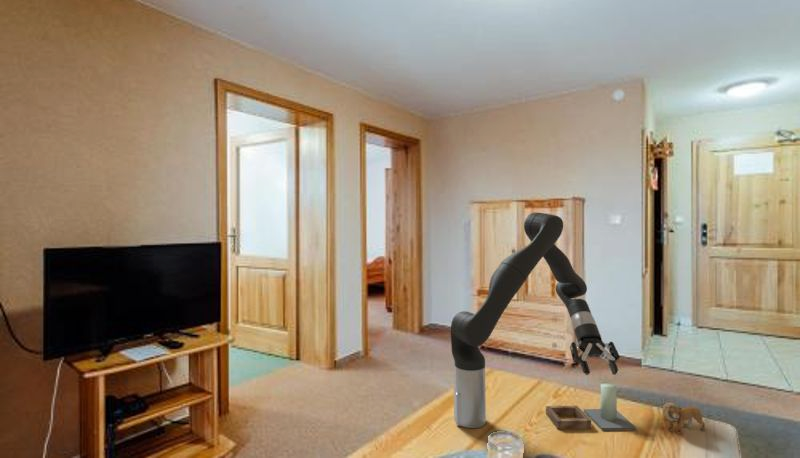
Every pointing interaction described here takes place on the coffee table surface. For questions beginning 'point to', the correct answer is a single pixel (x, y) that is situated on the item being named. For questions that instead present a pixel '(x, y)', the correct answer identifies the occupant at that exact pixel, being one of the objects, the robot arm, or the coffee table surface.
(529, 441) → the coffee table surface
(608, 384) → the sage wooden peg
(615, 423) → the charcoal mat
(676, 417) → the lion figurine
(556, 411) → the walnut pocket frame
